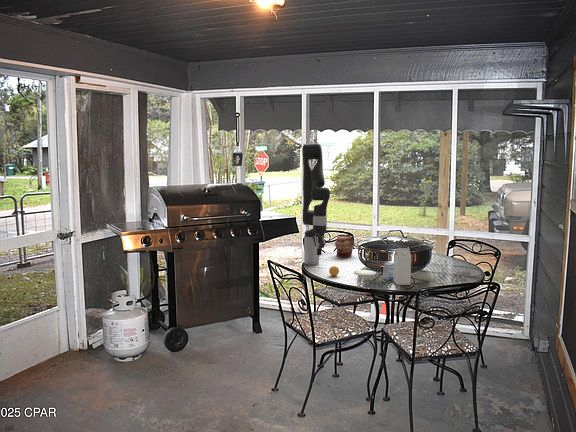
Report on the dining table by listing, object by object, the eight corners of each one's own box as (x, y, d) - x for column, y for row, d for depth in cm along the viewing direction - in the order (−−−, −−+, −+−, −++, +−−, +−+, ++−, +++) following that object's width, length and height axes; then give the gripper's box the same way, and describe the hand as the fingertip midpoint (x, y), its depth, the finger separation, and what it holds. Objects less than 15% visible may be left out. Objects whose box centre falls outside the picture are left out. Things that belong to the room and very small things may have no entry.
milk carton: (393, 281, 271) (394, 247, 268) (405, 281, 272) (407, 247, 269) (397, 285, 264) (398, 249, 261) (410, 284, 265) (411, 249, 262)
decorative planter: (339, 252, 346) (340, 232, 344) (356, 253, 342) (357, 233, 340) (331, 257, 328) (332, 237, 326) (349, 259, 323) (350, 238, 321)
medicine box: (387, 280, 273) (388, 264, 272) (382, 278, 277) (383, 263, 276) (399, 278, 277) (399, 263, 276) (393, 277, 281) (394, 261, 280)
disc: (349, 271, 292) (349, 270, 292) (368, 269, 297) (368, 269, 297) (360, 276, 280) (360, 276, 280) (380, 274, 285) (380, 274, 285)
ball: (327, 275, 283) (327, 265, 282) (336, 274, 285) (336, 264, 284) (331, 277, 278) (332, 267, 277) (340, 276, 280) (341, 266, 279)
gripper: (308, 222, 278) (307, 253, 281) (318, 225, 266) (318, 257, 268) (320, 222, 281) (320, 252, 283) (331, 225, 269) (330, 256, 271)
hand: (319, 255), depth 276 cm, fingers closed
